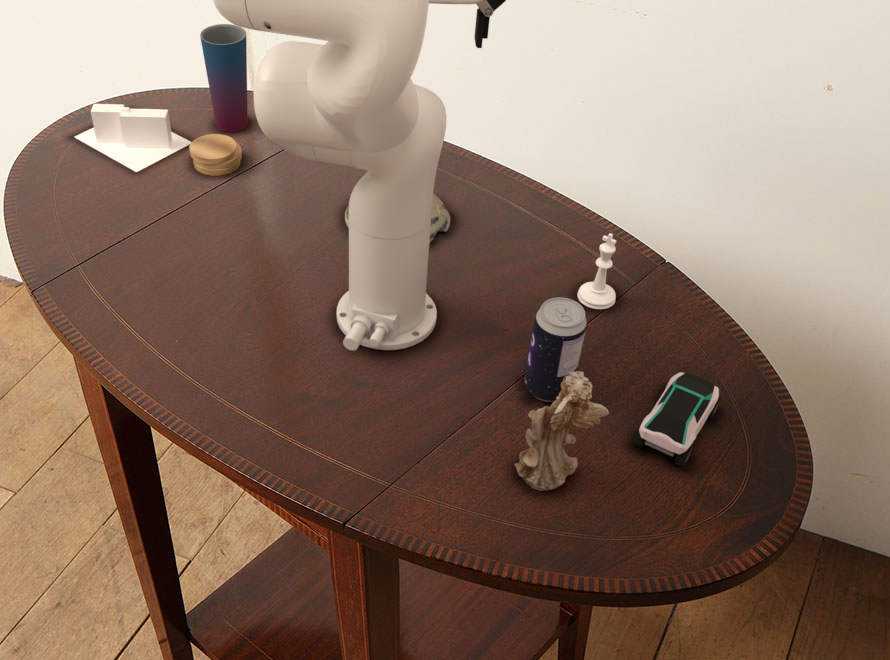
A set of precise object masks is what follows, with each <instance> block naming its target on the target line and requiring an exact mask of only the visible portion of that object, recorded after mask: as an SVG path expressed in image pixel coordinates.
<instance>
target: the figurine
mask: <svg viewBox="0 0 890 660" xmlns="http://www.w3.org/2000/svg"><path fill="white" fill-rule="evenodd" d="M568 374H569V375H568V376H565V377H564V379H563V381H562V383H561V388H562V390H561V392H560V393H559V396H558V397H556V400H555V401H554V402H551V404H550V406H549V405H545V406H544V407H540V408H538V409H536V410H535V409H532V410H529V412H528V414H527V416H528V417H529V418H530V419H531V428H532V429H531V428H527V429H526V432H525V440H526V444H527V445H528V447H529V448H527V449H525V450H521V451H520V453H519V455H518V460H519V462H516V463H514V464H513V465H514V466H515V468H516V472H517V474H518V476H519V477H521V478H522V479H523V481H524V483H525V484H526V485H528V486H529V487H530V488H531V489H533V490H537V491H540V492H541V491H554V490H555V489H558V488H559V487H560V486H562V485H563V484H564V483H565V482H566V479H567V477H568V476H570V475H572V474H573V473H575V471H576V469H577V468H578V466H579V463H578V458H577V457H575V456H574V457H572V456H569V455H568V454H567V453H566V451H565V447H564V446H565V445H568V444H570V445H575V443H577V438H576V436H574V434H572V433H570V430H571V431H580V430H587V429H588V428H589V427H591V428H594V427H595V425H599V424H601V419H600V418H603V417H607V416H608V415H609V414H610V413H609V410H608V408H607V407H606V406H604V405H603V404H600V403H596V402H593V401H590V399H592V398H593V395H592V392H593V384H592V381H590V379H589V378H588V377H587V376H585V372H584V371H581V370H577V371H576V372H574V371H570V372H569V373H568Z"/></svg>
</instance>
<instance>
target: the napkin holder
mask: <svg viewBox="0 0 890 660" xmlns="http://www.w3.org/2000/svg"><path fill="white" fill-rule="evenodd" d="M90 116H91V120H92V125H93V127H92V128H89V129H87V130H85V131H83V132H81V133H79V134H77V135H75V136H74V138H75V139H76V140H78V141H80V142H81V143H84V144H85V145H87V146H88V147H91V148H92V149H94V150H96V151H97V152H100V153H101V154H103V155H104V156H107V157H108V158H110V159H112V160H114V161H115V162H117V163H119V164H121V165H122V166H125V167H126V168H128V169H130V170H132V171H133V172H134V173H138V172H140V171H141V170H145V169H146V168H148V167H149V166H152V165H153V164H155V163H157V162H159V161H160V160H162V159H164V158H167V157H168V156H170V155H172V154H174V153H176V152H178V151H180V150H182V149H184V148H185V147H188V146H190V144H191V142H192V141H190V140H188V139H187V138H184V137H183V136H181V135H179V134H177V133H175V132H173V131H172V128H171V121H170V113H169V109H161V108H160V109H159V108H158V109H157V108H130V107H129V106H125V104H121V103H119V104H117V103H93V105H92V107H91V109H90Z"/></svg>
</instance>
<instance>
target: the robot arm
mask: <svg viewBox="0 0 890 660" xmlns="http://www.w3.org/2000/svg"><path fill="white" fill-rule="evenodd" d="M506 1H507V0H212V2H213V4H214V6H215V8H216V10H217V11H218V13H219V14H220V15H221V16H222V17H223V19H225V20H226V21H228V22H229V23H230V24H232V25H236V26H239V27H241V28H243V29H248V30H253V31H256V32H257V31H258V32H264V33H270V34H279V35H286V36H293V37H299V38H307V39H314V40H320V41H325V43H324V44H320V43H312V42H304V41H292V40H289V41H282V42H279V43H276V44H275V45H273V46H272V47H270V48H269V50H267V52H266V53H265V54H264V56H263V57H262V59H261V60H260V63H259V65H258V67H257V70H256V74H255V77H254V84H253V109H254V114H255V117H256V120H257V123H258V126H259V128H260V130H261V131H262V133H263V135H265V137H266V138H268V140H269V141H271V142H273V143H274V144H275V145H277V146H278V147H280V148H281V149H283V150H284V151H286V152H288V153H290V154H291V155H293V156H295V157H297V158H301V159H305V160H309V161H314V162H319V163H324V164H325V163H326V164H331V165H338V166H345V167H349V168H355V169H359V170H364V171H366V172H365V173H364V174H363V175H362V177H360V179H359V180H358V181H357V182H356V184H355V186H354V187H353V188H352V191H351V194H350V196H349V201H348V206H349V228H348V291H346V292H345V293H344V294H343V295H342V296H341V298H340V299H339V301H338V302H337V306H336V323H337V325H338V328H339V330H340V331H341V332H342V333H343V335H345V336H344V338H343V340H342V345H343V346H344V348H345V349H346V350H348V351H356V350H358V348H359V347H360V346H362V347H366V348H369V349H374V350H380V351H397V350H403V349H407V348H410V347H414V346H416V345H417V344H420V343H421V342H423V341H424V340H426V339H427V338H428V337H429V336H430V335H431V333H433V331H434V329H435V327H436V324H437V319H438V318H437V316H438V315H437V314H438V311H437V307H436V304H435V302H434V300H433V299H432V297H431V296H430V295H428V293H427V284H428V283H427V282H428V281H427V280H428V271H429V270H428V267H429V256H430V255H429V253H430V243H431V242H430V227H431V213H432V200H433V193H434V191H435V190H434V189H435V180H436V175H437V170H438V165H439V162H440V158H441V157H440V156H441V152H442V149H443V144H444V141H445V136H446V129H447V118H448V117H447V110H446V109H447V108H446V107H445V104H444V102H443V101H442V99H441V98H440V96H438V95H437V94H436V93H435V92H434V91H432V90H430V89H429V88H426V87H424V86H422V85H418V84H415V83H414V82H413V80H412V79H411V78H412V76H413V74H414V71H415V69H416V67H417V64H418V61H419V58H420V55H421V51H422V47H423V42H424V38H425V33H426V29H427V28H426V27H427V22H428V13H429V5H430V4H432V5H433V4H434V5H435V4H436V5H476V6H477V7H478V8H477V9H476V14H475V15H476V18H475V27H474V44H475V48H477V49H482V48H483V40H485V39H488V38H489V29H490V18H491V16H493V14H494V12H495V11H496V10H497V9H498V8H499V7H501V6H502V5H503V4H504V3H506ZM429 242H430V243H429Z"/></svg>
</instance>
